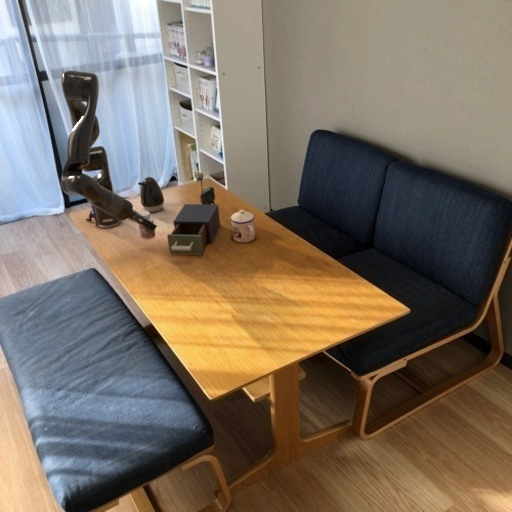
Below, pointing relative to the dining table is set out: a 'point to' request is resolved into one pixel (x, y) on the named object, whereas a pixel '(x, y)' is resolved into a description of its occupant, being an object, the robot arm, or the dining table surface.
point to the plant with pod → (206, 192)
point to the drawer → (188, 238)
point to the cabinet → (200, 217)
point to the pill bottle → (146, 232)
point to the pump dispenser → (151, 195)
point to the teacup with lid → (243, 226)
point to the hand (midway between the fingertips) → (150, 225)
